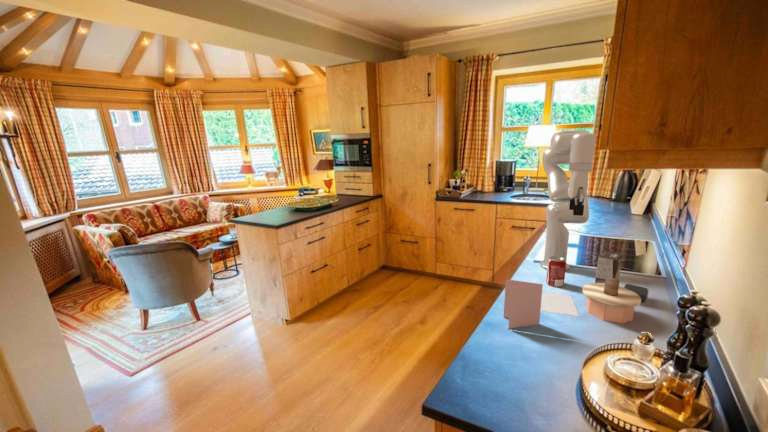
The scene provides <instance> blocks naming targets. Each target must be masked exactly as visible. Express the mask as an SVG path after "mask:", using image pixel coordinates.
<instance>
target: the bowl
mask: <svg viewBox="0 0 768 432" xmlns="http://www.w3.org/2000/svg"><path fill="white" fill-rule="evenodd" d="M585 307H586V311H587V314H589V315H591V316H593V317H596V318H597V319H599V320H602V321H603V322H610V323H618V324H625V323H627V322H632V321H633V318H634V313H635V307H630V308H622V307H614V306H609V305H605V304H601V303H598V302H596V301H593V300H591V299H590V298H588V297H586V301H585Z"/></svg>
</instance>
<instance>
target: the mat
mask: <svg viewBox="0 0 768 432" xmlns="http://www.w3.org/2000/svg"><path fill="white" fill-rule="evenodd" d="M540 312H546V313H552V314H559V315H566V316H567V315H568V316H575V317H579V316H580V315H579V313H578V310H577V306H576V304H575V301H574V298H573V296H572V295H567V294H560V293H550V292H545V291H542V298H541V310H540Z"/></svg>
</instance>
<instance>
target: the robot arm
mask: <svg viewBox="0 0 768 432" xmlns="http://www.w3.org/2000/svg"><path fill="white" fill-rule="evenodd" d="M596 138H597V136H596V135H595V134H594V133H592V132H591V133H590V132H588V131H587V130H585V129H579V130H575V129H574V130H562V131H559V132H556V133H555V132H554V133H553V135H552V137H551V139H550V147H549V148H546V149H545V150H544V151H543V153H542V157H541V158H542V159H541V160H542V161H541V162H542V167H543V170H544V172H545V174H546V175H545V176H546V177H547V190H548V191H547V192H548V198H549V200H550V201H551V203H549V204H548V205H547V206H546V208H545V209H546V210H545V217H546V233H545V245H544V246H545V247H544V258H543V260H541V261H540V264H539V265H540V266H541V268H543V269H545V270H547V267H548V261H549V259H550V257H552V256H558V257H562V258H564V259H565V263H566V269H565V272H566V271H569V269H570V265H569V264H568V263H567V258H568V248H569V239H570V238H569V237H570V232H569V229H568V228H567V227H566V226H565V224H578V225H579V224H580V225H581V224H585V223H587V222H588V221H589V219H590V207H589V197H588V182H589V173H591V172H593V166H594V155H595V147H596ZM561 165H568V173H570V174H569V175H570V176H569V180H568V174H567V173H566V171H565V170H564V169H563V168H561V167H560V166H561Z"/></svg>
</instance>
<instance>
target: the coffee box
mask: <svg viewBox="0 0 768 432" xmlns="http://www.w3.org/2000/svg"><path fill="white" fill-rule="evenodd" d="M622 259H623V253H620V252H619V253H618V252H612V251H606V250H604V251H603V252H602V253H601V254H599V255H598V257H597V265H596V271H595V272H596V273H595V279H594V283H605V280H606V278H614V279H617V280H619V281H620V273H621V266H622Z"/></svg>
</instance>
